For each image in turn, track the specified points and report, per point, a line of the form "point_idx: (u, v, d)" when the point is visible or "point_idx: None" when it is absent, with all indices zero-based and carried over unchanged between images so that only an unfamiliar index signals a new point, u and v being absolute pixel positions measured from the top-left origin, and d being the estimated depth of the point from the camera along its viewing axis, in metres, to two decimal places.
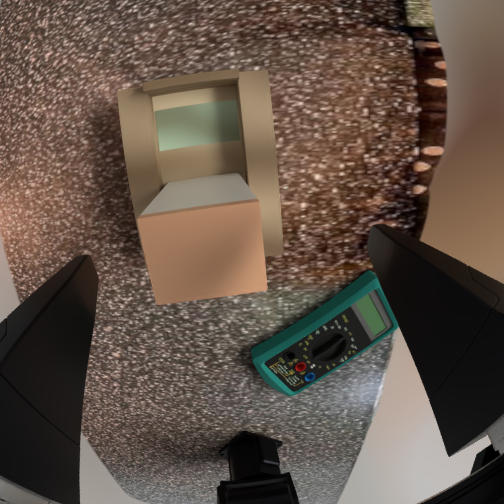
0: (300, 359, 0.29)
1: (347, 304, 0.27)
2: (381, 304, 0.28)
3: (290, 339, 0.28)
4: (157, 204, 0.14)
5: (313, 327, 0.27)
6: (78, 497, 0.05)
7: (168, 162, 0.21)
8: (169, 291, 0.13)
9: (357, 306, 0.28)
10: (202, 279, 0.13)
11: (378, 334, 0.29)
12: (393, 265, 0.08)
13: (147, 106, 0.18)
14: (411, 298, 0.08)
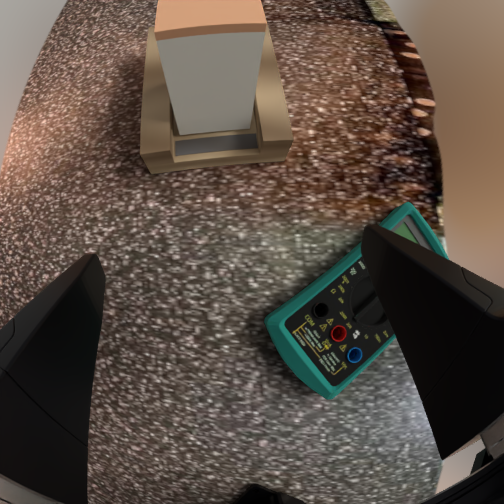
0: (336, 319, 0.20)
1: None
2: (423, 239, 0.21)
3: (317, 283, 0.20)
4: None
5: (346, 263, 0.20)
6: (86, 499, 0.05)
7: None
8: (170, 22, 0.11)
9: None
10: (204, 14, 0.11)
11: None
12: (386, 266, 0.08)
13: None
14: (404, 299, 0.08)
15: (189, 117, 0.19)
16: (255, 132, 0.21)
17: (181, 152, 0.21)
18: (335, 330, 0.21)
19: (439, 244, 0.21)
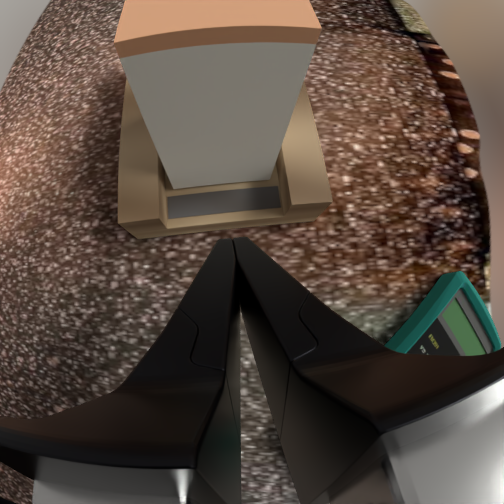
0: None
1: (433, 315, 0.15)
2: (474, 314, 0.16)
3: None
4: None
5: None
6: None
7: None
8: (144, 23, 0.06)
9: (444, 320, 0.16)
10: (206, 7, 0.06)
11: None
12: (240, 285, 0.08)
13: None
14: (251, 325, 0.07)
15: (185, 168, 0.13)
16: (277, 184, 0.16)
17: (176, 214, 0.16)
18: None
19: (490, 318, 0.15)
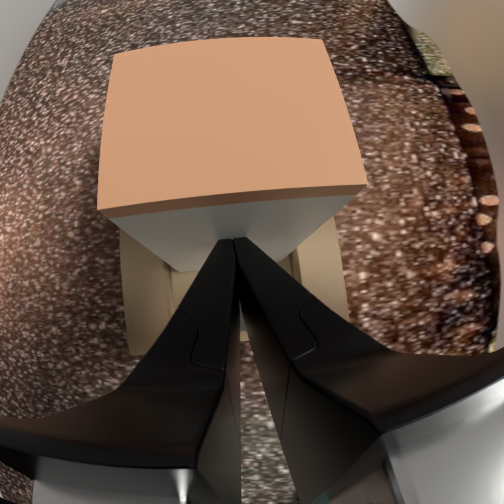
0: None
1: None
2: None
3: None
4: None
5: None
6: None
7: None
8: (133, 174, 0.05)
9: None
10: (216, 145, 0.05)
11: None
12: (240, 285, 0.08)
13: None
14: (251, 325, 0.07)
15: (192, 264, 0.13)
16: None
17: None
18: None
19: None
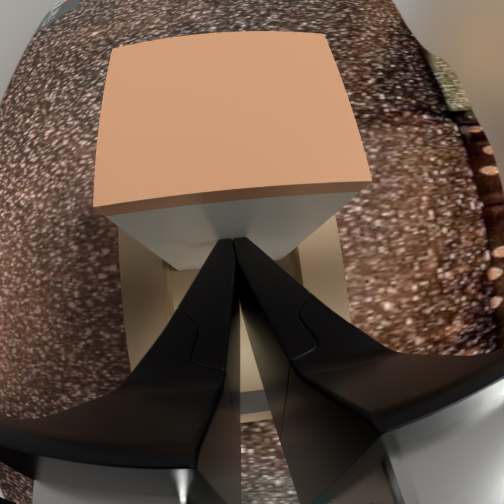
0: None
1: None
2: None
3: None
4: None
5: None
6: None
7: (184, 284, 0.15)
8: (130, 170, 0.05)
9: None
10: (216, 140, 0.05)
11: None
12: (240, 285, 0.08)
13: None
14: (251, 325, 0.07)
15: (192, 262, 0.13)
16: None
17: None
18: None
19: None
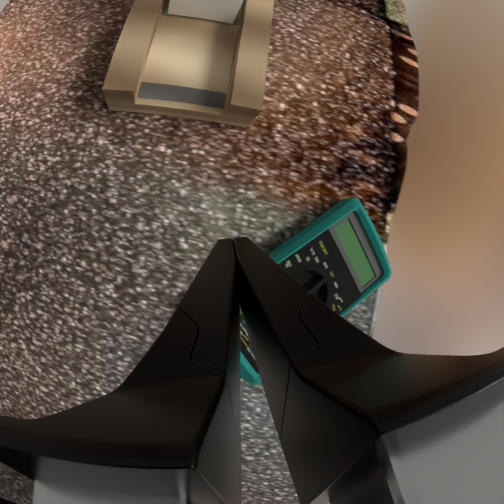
0: None
1: (324, 225, 0.21)
2: (365, 237, 0.23)
3: None
4: None
5: (282, 255, 0.21)
6: None
7: (167, 22, 0.18)
8: None
9: (336, 234, 0.22)
10: None
11: (367, 285, 0.23)
12: (240, 285, 0.08)
13: None
14: (251, 325, 0.07)
15: None
16: (225, 92, 0.19)
17: (144, 95, 0.18)
18: None
19: (380, 244, 0.23)
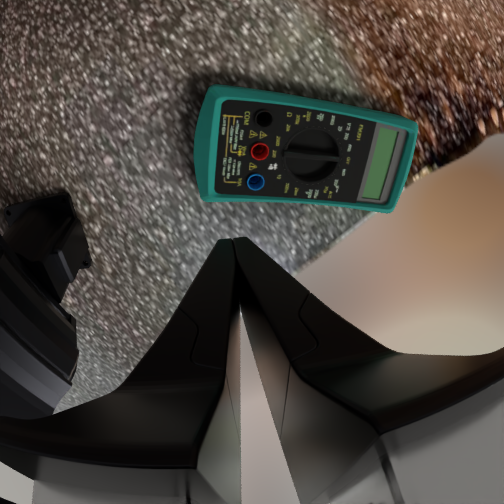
0: (269, 139, 0.17)
1: (376, 117, 0.17)
2: (398, 160, 0.19)
3: (282, 96, 0.16)
4: None
5: (321, 105, 0.17)
6: None
7: None
8: None
9: (378, 133, 0.18)
10: None
11: (366, 199, 0.21)
12: (240, 285, 0.08)
13: None
14: (251, 325, 0.07)
15: None
16: None
17: None
18: (259, 147, 0.19)
19: (404, 178, 0.20)
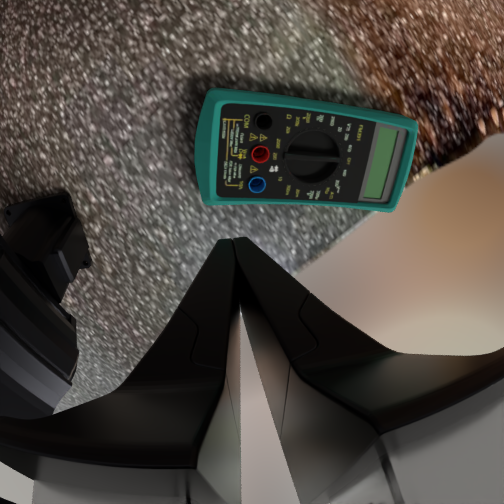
0: (269, 141, 0.17)
1: (375, 116, 0.17)
2: (398, 159, 0.19)
3: (281, 98, 0.16)
4: None
5: (320, 106, 0.17)
6: None
7: None
8: None
9: (378, 133, 0.18)
10: None
11: (368, 199, 0.21)
12: (240, 285, 0.08)
13: None
14: (251, 325, 0.07)
15: None
16: None
17: None
18: (260, 149, 0.19)
19: (405, 177, 0.20)
